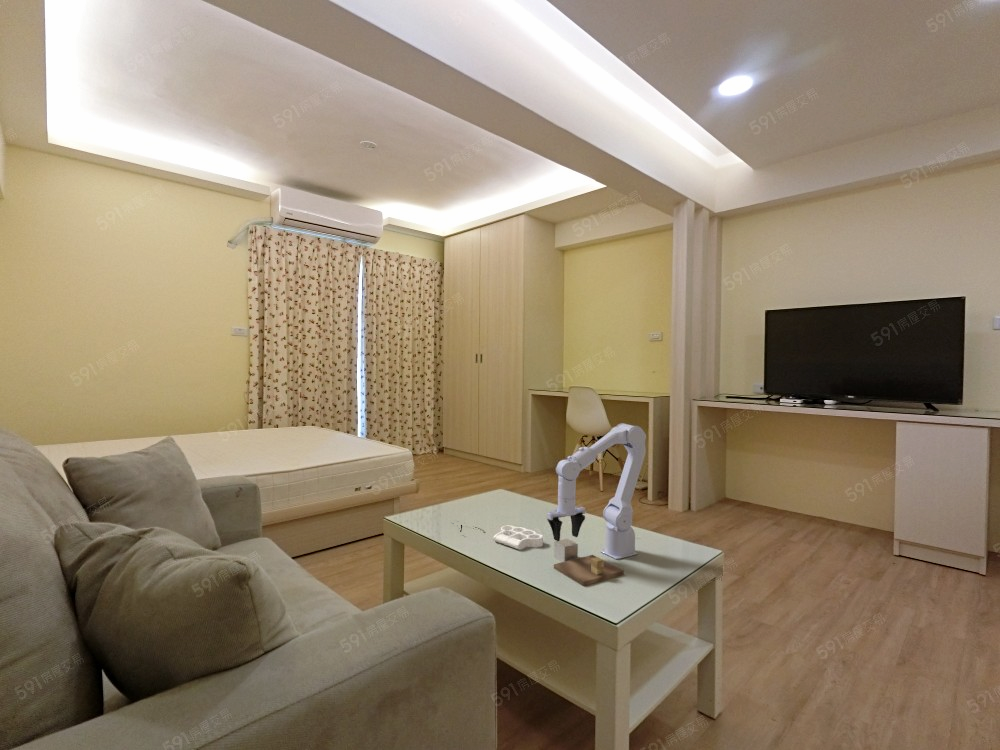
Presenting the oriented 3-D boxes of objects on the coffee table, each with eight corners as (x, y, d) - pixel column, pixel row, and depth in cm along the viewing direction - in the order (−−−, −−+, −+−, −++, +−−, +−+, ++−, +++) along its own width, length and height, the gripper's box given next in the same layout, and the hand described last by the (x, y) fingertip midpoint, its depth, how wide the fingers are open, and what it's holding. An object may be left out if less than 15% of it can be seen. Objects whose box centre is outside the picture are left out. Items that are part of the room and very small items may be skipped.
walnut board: (592, 558, 155) (592, 542, 155) (623, 574, 143) (623, 557, 143) (553, 568, 147) (554, 551, 147) (583, 586, 135) (583, 568, 135)
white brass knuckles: (486, 541, 171) (512, 531, 182) (525, 554, 159) (550, 543, 170) (486, 531, 171) (512, 522, 182) (525, 544, 159) (550, 534, 169)
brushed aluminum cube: (567, 554, 158) (567, 538, 158) (577, 560, 154) (577, 543, 154) (554, 557, 156) (554, 541, 156) (564, 563, 151) (564, 546, 151)
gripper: (576, 491, 162) (575, 531, 162) (541, 496, 154) (540, 537, 154) (589, 496, 155) (589, 537, 156) (554, 502, 148) (553, 545, 148)
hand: (565, 538), depth 155 cm, fingers open, 7 cm apart
